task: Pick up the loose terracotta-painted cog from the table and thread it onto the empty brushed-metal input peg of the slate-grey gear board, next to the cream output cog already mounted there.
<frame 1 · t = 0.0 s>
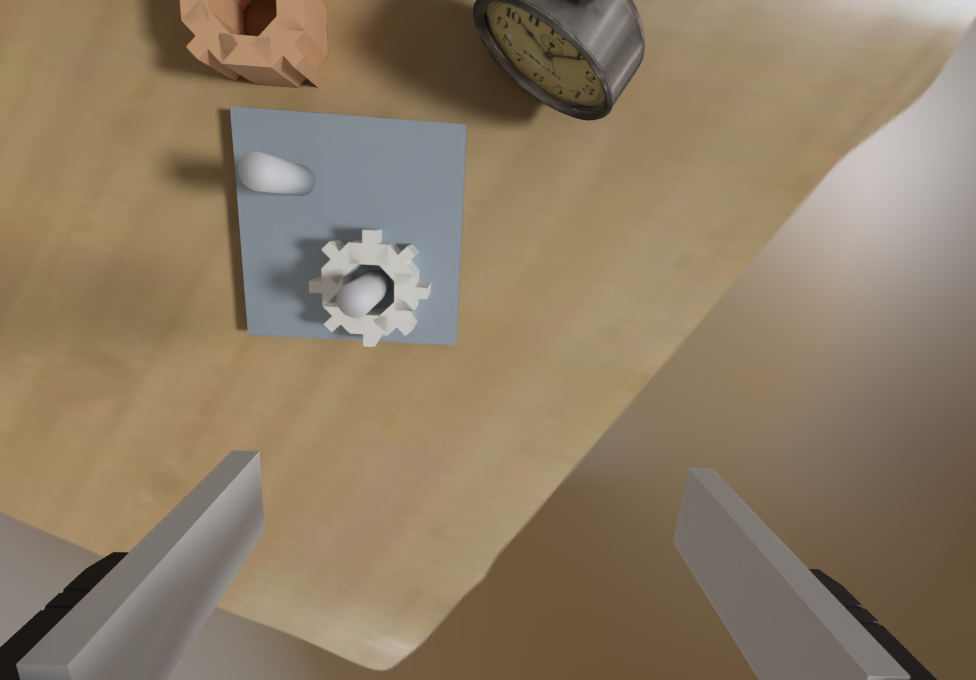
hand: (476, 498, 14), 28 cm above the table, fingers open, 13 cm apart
gear board: (356, 234, 39), on the table
alarm clock: (545, 66, 36), on the table
loose gear: (273, 27, 34), on the table
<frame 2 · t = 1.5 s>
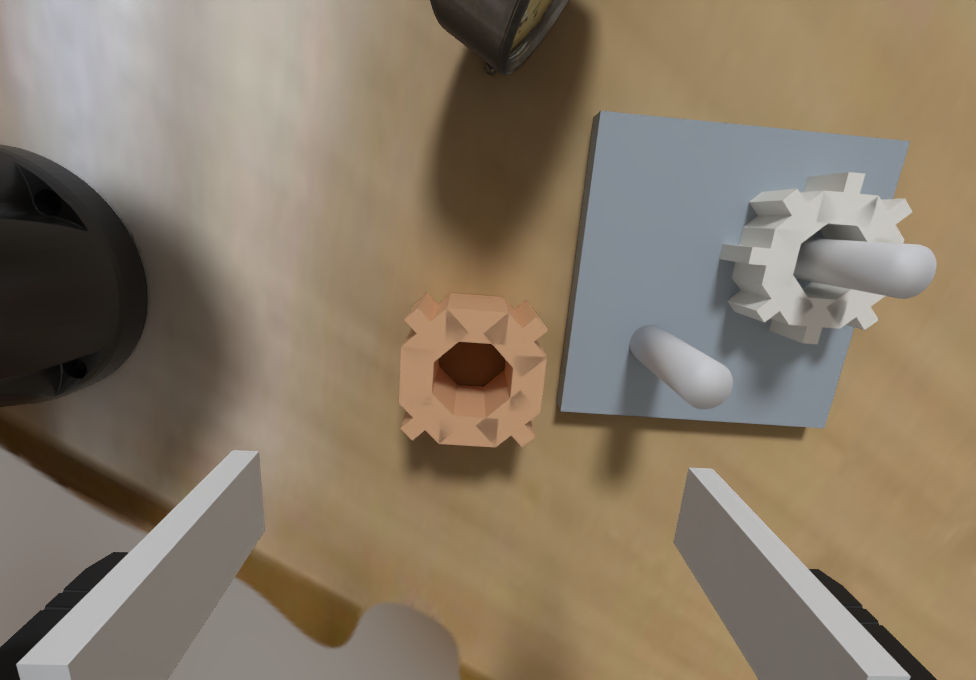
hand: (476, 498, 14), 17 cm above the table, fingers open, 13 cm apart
gear board: (711, 282, 29), on the table
loose gear: (472, 354, 30), on the table
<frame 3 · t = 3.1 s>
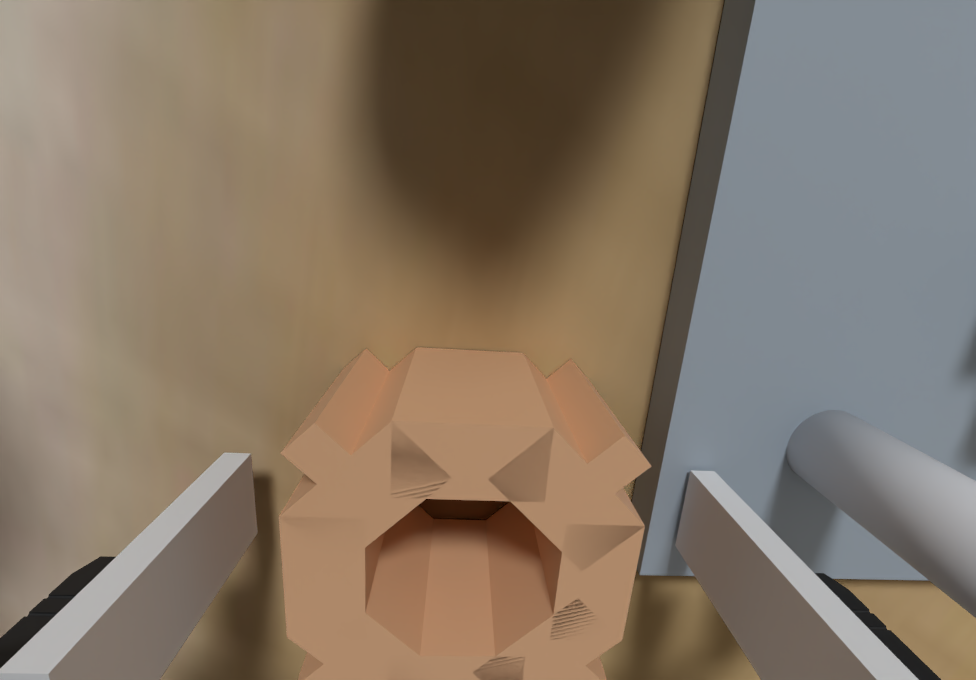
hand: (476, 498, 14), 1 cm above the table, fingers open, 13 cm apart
gear board: (941, 315, 15), on the table
loose gear: (463, 463, 15), on the table
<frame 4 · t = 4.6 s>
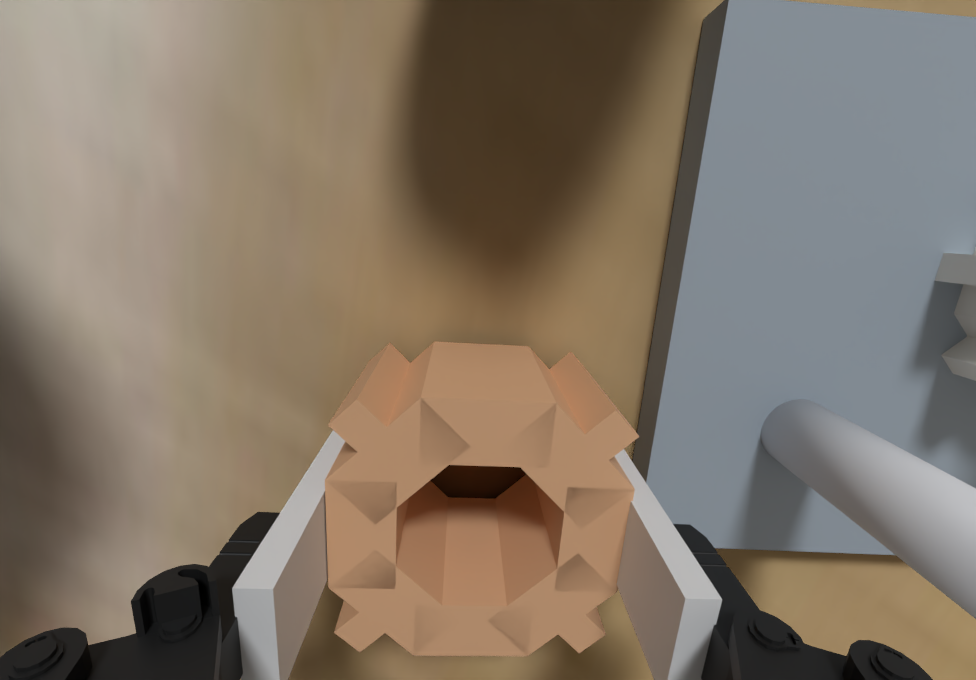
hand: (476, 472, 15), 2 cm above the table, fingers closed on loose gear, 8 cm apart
gear board: (897, 318, 17), on the table
loose gear: (475, 446, 17), point 1 cm above the table, touching gripper
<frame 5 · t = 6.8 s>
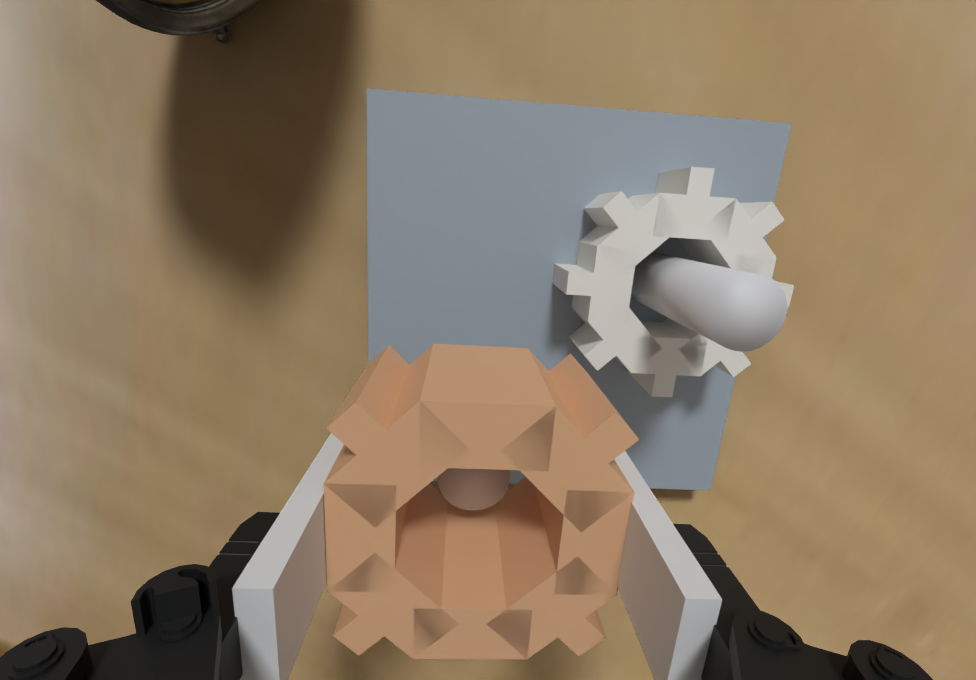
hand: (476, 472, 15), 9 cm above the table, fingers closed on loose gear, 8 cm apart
gear board: (555, 310, 23), on the table
loose gear: (474, 448, 17), point 7 cm above the table, touching gripper
when the fingers open (2 cm above the table, at t = 8.6 s): loose gear stays where it is, resting on gear board.
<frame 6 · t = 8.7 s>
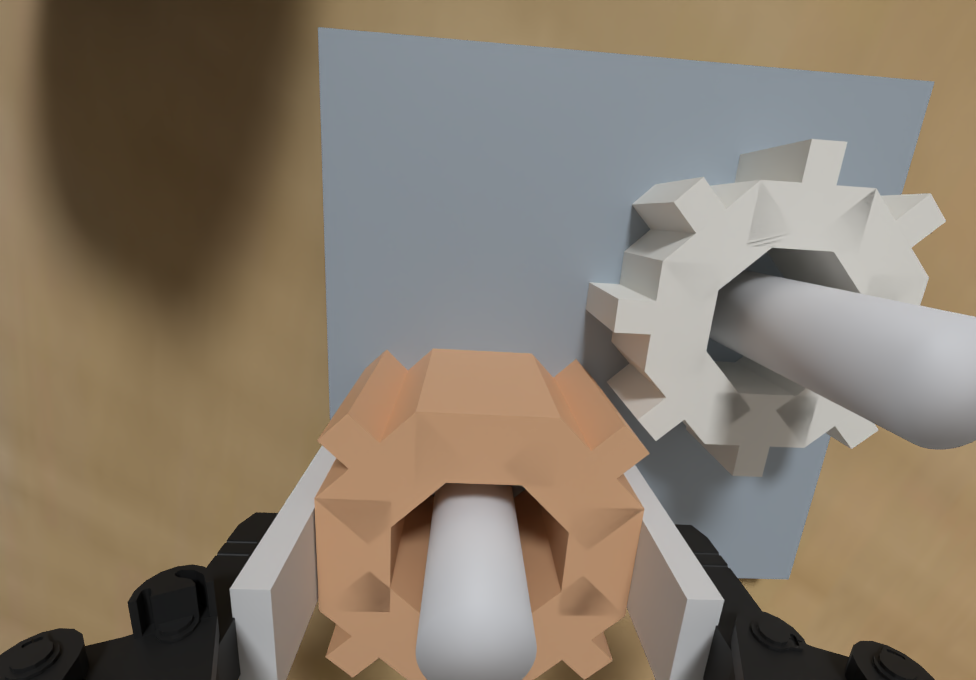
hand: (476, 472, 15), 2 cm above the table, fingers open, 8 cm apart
gear board: (586, 343, 17), on the table
loose gear: (475, 457, 16), point 1 cm above the table, touching gear board
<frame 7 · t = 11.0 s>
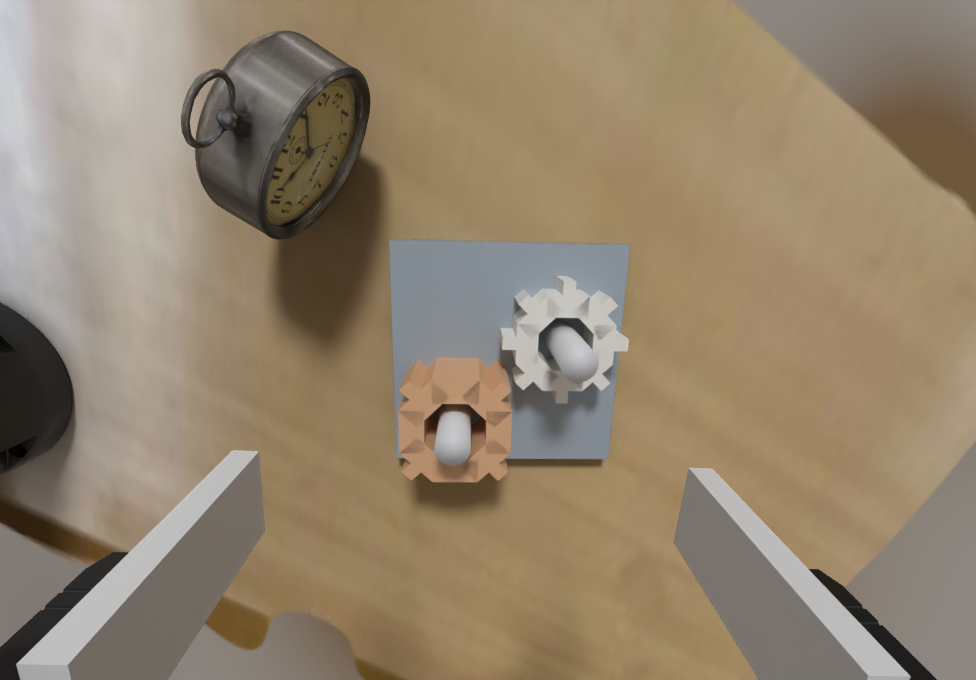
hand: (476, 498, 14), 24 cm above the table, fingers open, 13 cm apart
gear board: (505, 352, 38), on the table
alarm clock: (322, 153, 33), on the table
loose gear: (457, 404, 37), point 1 cm above the table, touching gear board
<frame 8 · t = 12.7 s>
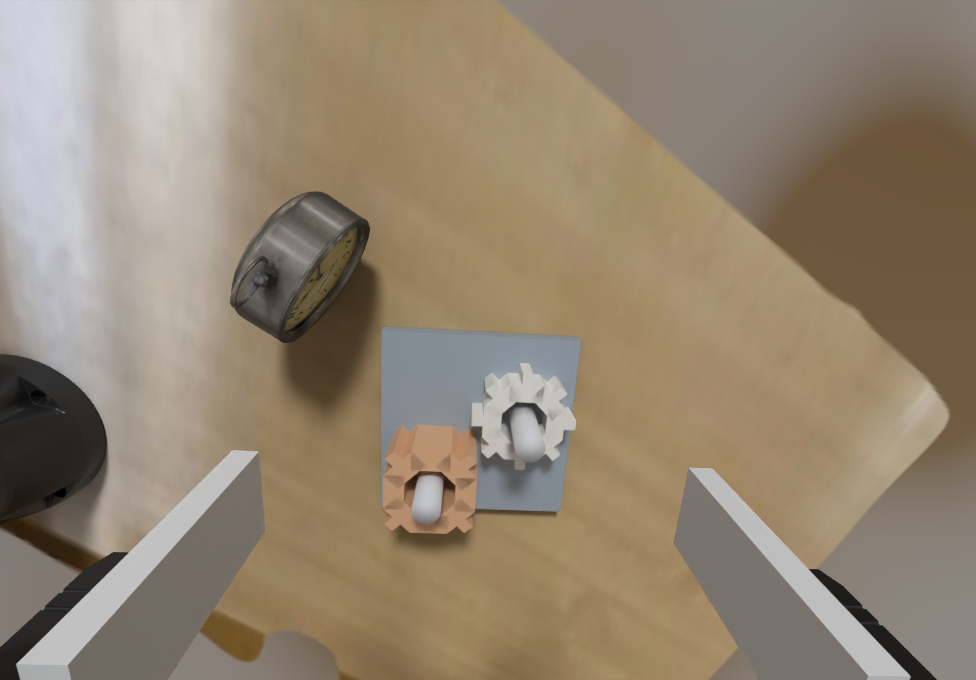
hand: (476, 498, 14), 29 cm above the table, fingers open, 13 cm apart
gear board: (476, 420, 45), on the table
alarm clock: (328, 256, 40), on the table
loose gear: (434, 463, 44), point 1 cm above the table, touching gear board
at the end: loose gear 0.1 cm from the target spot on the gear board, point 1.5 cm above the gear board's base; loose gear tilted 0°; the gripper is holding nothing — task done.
